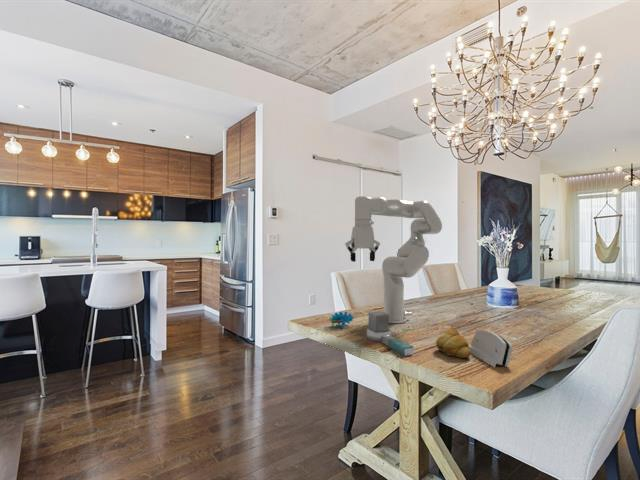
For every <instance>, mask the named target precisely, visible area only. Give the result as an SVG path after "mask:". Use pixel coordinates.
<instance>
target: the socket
mask: <svg viewBox="0 0 640 480" xmlns="http://www.w3.org/2000/svg"><path fill="white" fill-rule="evenodd" d="M389 324H390V323H389V314H387V313H384V311H382V310H381V311H378V310H377V311H369V312H368V328H369V329H370V330H371V331H373V332H375V333H380V332H389V329H390V327H389Z"/></svg>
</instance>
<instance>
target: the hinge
mask: <svg viewBox="0 0 640 480" xmlns="http://www.w3.org/2000/svg"><path fill="white" fill-rule="evenodd" d="M468 348H469V349H470V351H471V353H470V355H473V356H474V357H475V358H477V357H478V359H479V358H480V359H479V360H481V359H482V360H483V361H482V360H481V361H482V362H484V361H485V362H484V363H485V364H487V363H488V364H487V365H489V364H490V365H491V367H492V366H493V367H492V368H496V365H500V366H504V367H506V366H508V367H509V363H510V360H511V355H512V351H513V345H512V344H511V343H510V342H509V341H508V339H506V338H504V337H502V336H501V335H500V334H498V333H495V332H493V331H490V330H489V331H488V330H482V329H480V330H476V331H475V333H474V336H473V338H472V340H471V343H470V344H468ZM490 365H489V366H490ZM506 368H507V367H506Z"/></svg>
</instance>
